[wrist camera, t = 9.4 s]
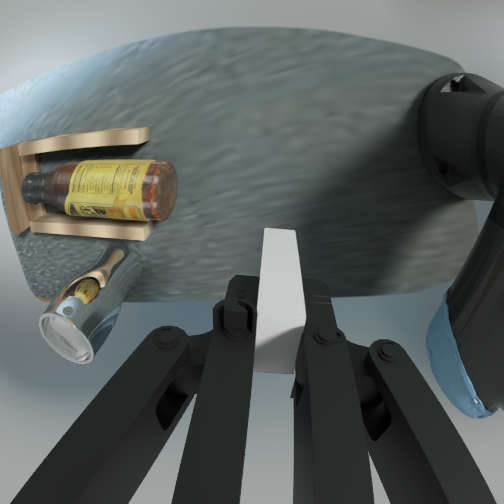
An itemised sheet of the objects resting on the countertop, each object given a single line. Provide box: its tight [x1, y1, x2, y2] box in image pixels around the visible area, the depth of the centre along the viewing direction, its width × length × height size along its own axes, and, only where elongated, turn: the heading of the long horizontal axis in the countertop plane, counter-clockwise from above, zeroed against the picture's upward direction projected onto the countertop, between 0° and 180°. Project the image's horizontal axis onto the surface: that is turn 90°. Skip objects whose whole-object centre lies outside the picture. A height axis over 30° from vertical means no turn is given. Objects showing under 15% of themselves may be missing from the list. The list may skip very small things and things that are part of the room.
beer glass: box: [39, 242, 143, 364], centre depth 29 cm, size 7×7×15 cm
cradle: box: [0, 127, 154, 241], centre depth 29 cm, size 22×12×4 cm, turn 86°
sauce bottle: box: [21, 159, 177, 221], centre depth 28 cm, size 7×6×20 cm
